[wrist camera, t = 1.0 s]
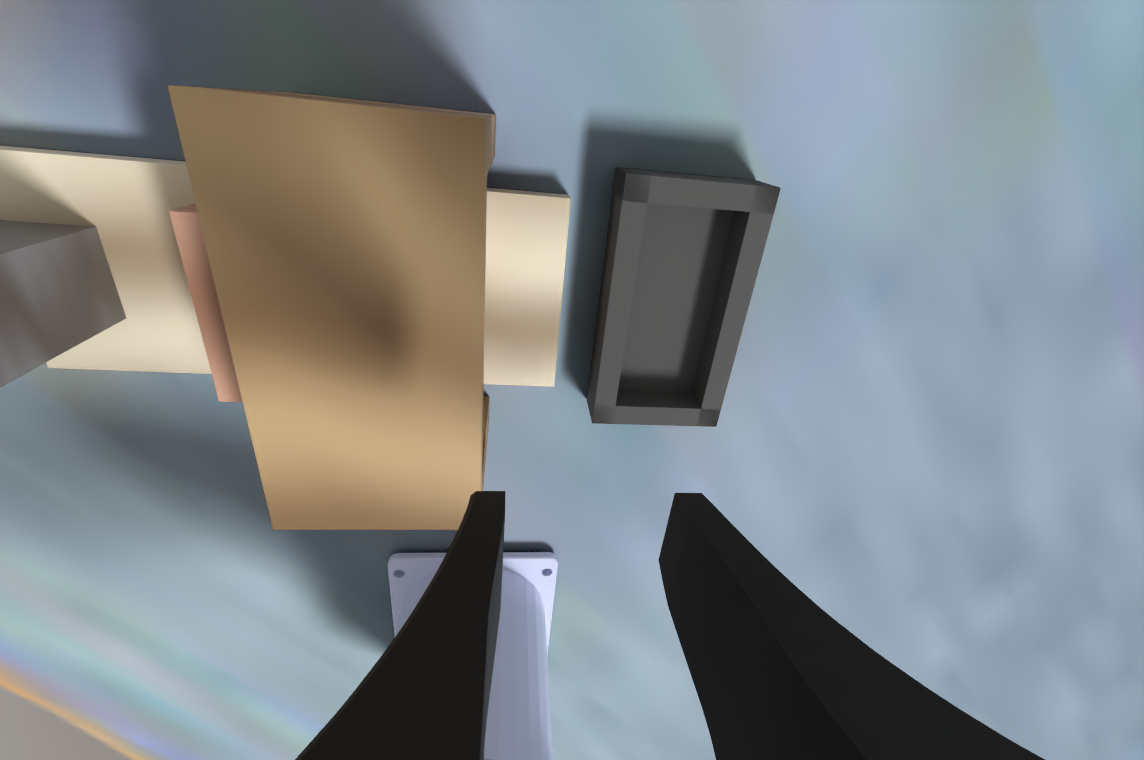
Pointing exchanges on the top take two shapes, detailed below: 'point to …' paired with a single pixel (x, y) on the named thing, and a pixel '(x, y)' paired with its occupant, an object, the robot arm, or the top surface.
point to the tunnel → (349, 297)
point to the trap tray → (674, 294)
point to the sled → (208, 272)
